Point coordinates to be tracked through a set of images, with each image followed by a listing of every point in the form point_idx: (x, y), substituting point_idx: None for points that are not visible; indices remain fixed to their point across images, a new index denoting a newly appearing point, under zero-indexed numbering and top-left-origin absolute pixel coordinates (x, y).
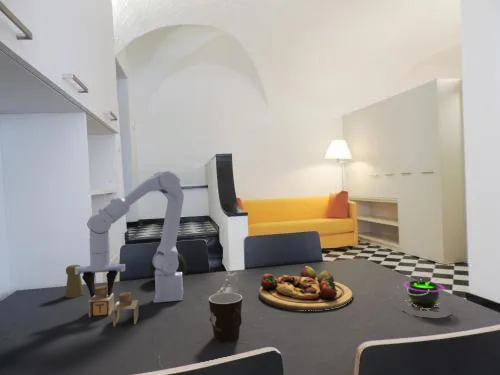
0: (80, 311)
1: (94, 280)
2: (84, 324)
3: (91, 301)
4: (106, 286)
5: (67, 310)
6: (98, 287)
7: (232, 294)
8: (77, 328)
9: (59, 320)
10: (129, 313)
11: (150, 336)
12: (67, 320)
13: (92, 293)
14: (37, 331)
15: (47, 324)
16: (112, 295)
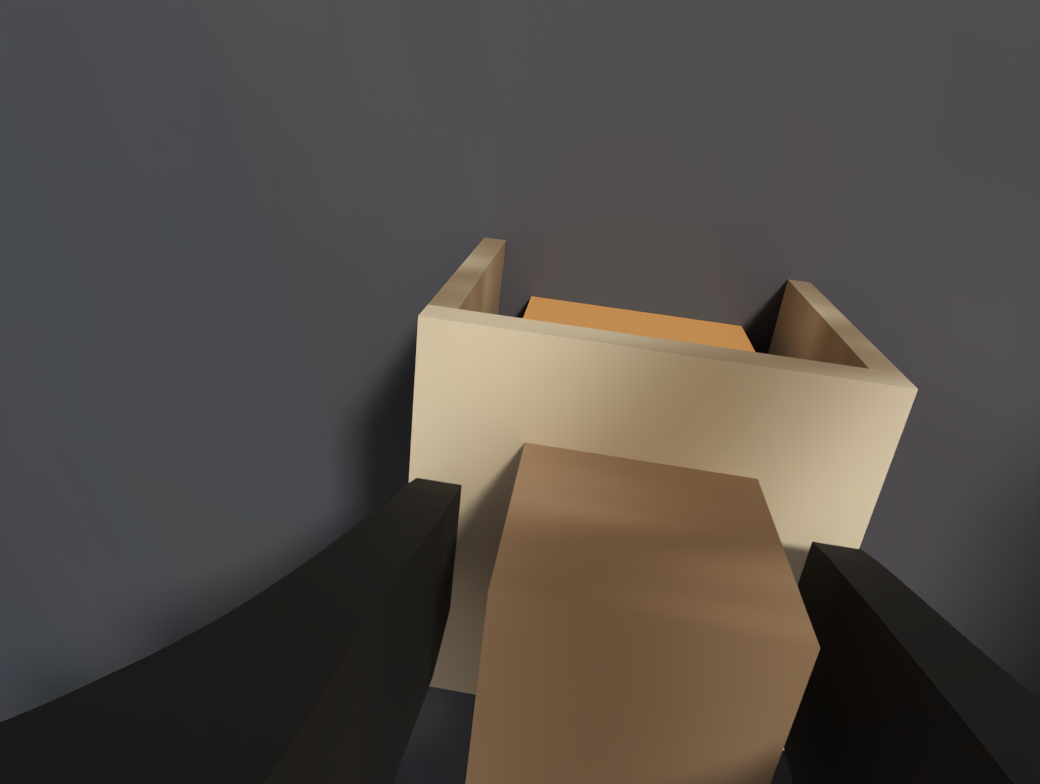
0: (269, 226)
1: (317, 707)
2: (461, 703)
3: (457, 673)
4: (788, 730)
5: (29, 88)
6: (546, 732)
7: None
8: (414, 767)
9: (118, 484)
10: (1016, 589)
11: None
12: (219, 521)
13: (427, 688)
14: (43, 689)
15: (40, 554)
16: (866, 499)
